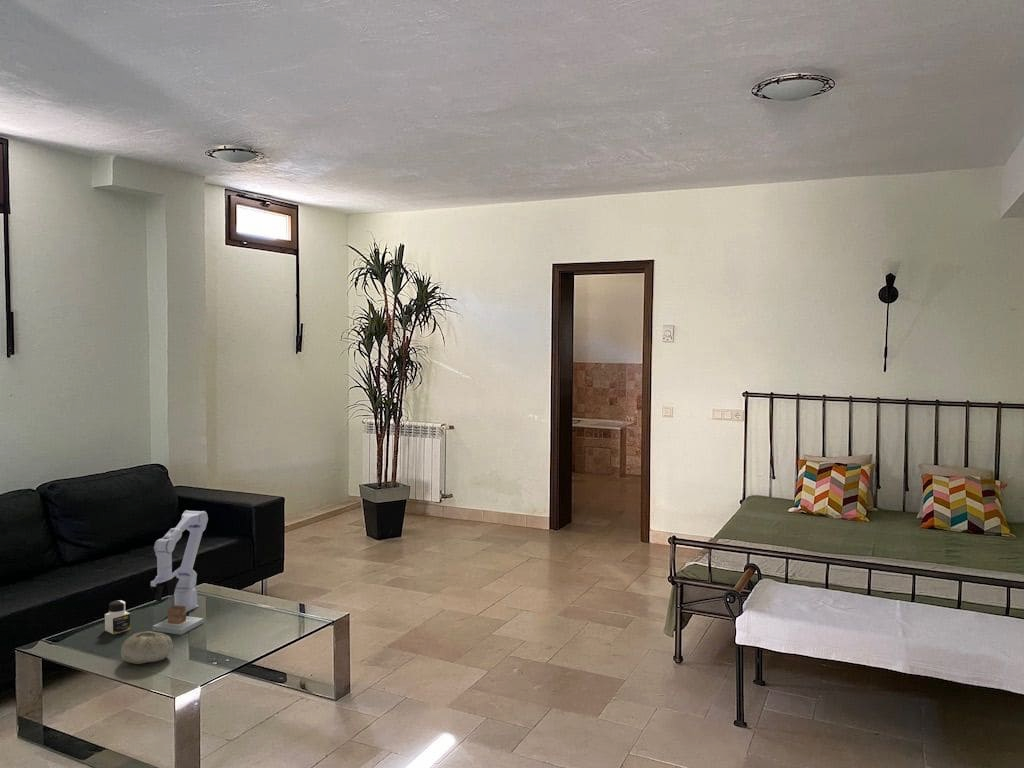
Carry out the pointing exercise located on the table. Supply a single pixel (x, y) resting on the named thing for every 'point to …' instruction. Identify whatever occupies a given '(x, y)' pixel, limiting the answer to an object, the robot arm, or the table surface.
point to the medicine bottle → (117, 618)
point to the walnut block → (176, 614)
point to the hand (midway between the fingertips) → (164, 598)
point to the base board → (178, 625)
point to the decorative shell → (146, 647)
